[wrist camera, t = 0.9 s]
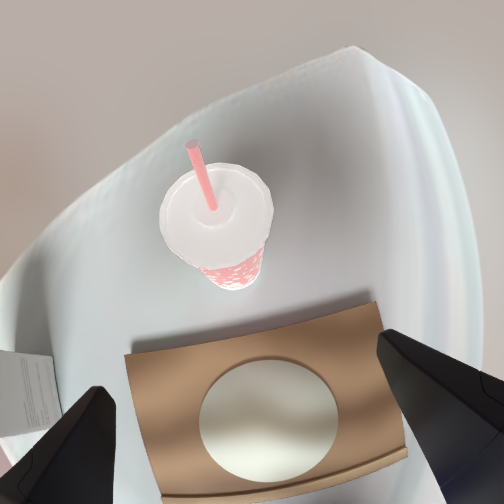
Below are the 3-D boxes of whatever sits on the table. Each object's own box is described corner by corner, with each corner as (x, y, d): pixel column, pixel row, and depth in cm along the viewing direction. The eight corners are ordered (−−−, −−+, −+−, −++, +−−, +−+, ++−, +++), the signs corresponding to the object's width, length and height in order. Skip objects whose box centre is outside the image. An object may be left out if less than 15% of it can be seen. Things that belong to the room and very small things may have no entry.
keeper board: (400, 453, 16) (407, 458, 15) (170, 500, 16) (164, 507, 14) (370, 303, 21) (377, 300, 19) (130, 355, 20) (122, 354, 19)
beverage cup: (252, 312, 21) (229, 246, 8) (184, 280, 22) (89, 189, 9) (283, 243, 23) (298, 112, 10) (217, 218, 24) (172, 87, 11)
